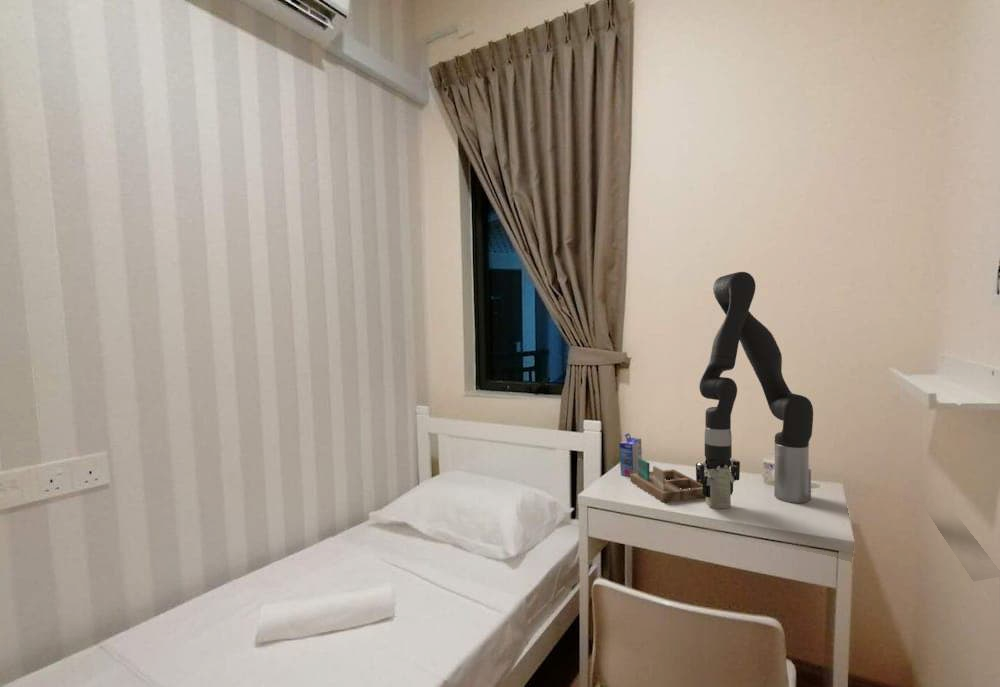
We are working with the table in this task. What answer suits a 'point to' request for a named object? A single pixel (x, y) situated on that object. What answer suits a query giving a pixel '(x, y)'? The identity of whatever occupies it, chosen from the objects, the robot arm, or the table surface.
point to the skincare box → (719, 489)
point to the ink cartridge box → (630, 455)
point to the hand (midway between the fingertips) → (717, 495)
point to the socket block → (666, 483)
